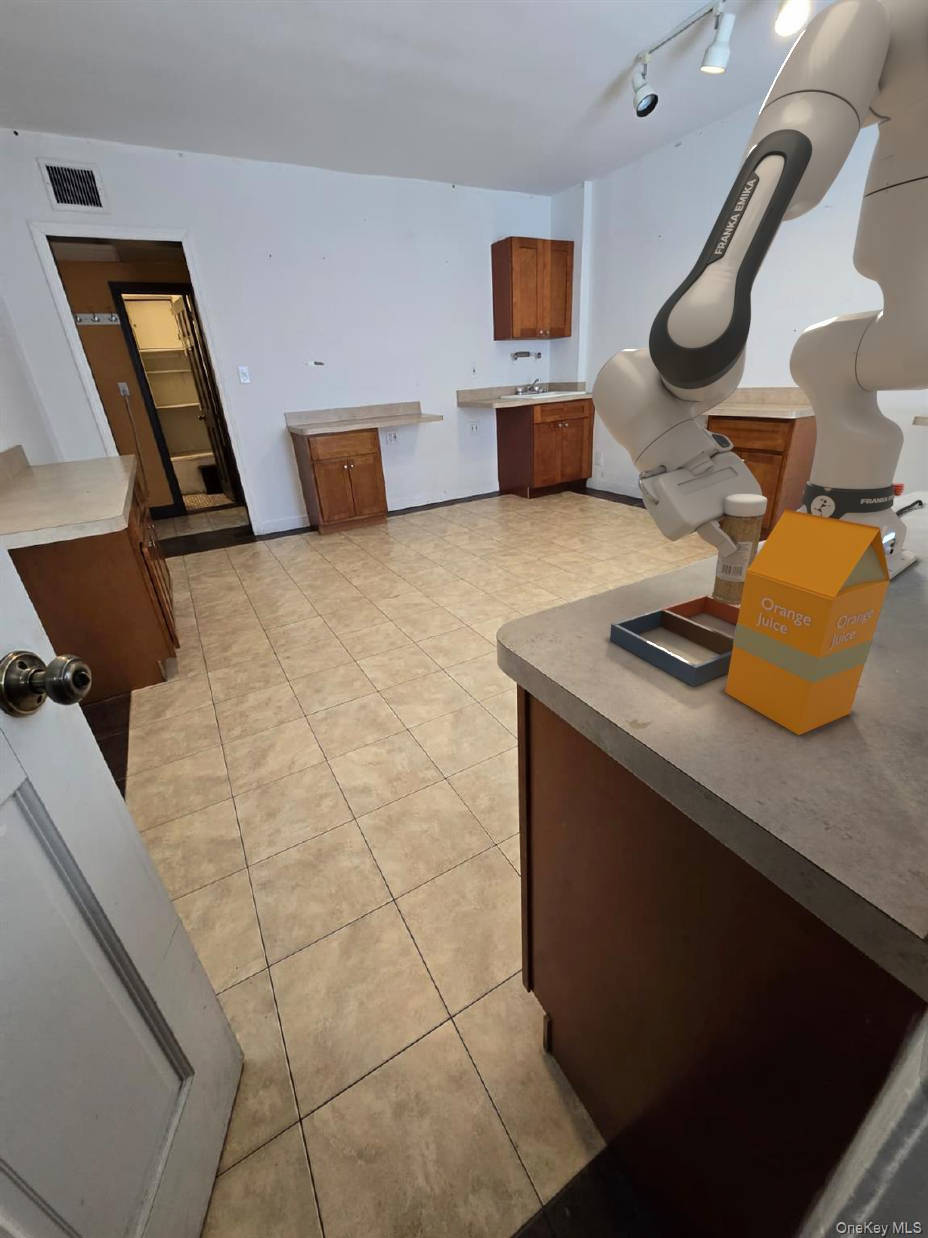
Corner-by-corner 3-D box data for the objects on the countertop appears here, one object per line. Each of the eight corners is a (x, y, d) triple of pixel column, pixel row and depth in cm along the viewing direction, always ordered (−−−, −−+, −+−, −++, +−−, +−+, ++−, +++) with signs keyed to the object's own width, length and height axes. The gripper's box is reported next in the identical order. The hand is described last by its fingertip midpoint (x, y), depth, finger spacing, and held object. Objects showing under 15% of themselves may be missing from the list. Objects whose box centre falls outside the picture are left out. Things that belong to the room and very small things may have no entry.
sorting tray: (703, 609, 77) (705, 594, 76) (794, 646, 65) (798, 628, 64) (609, 640, 70) (610, 623, 69) (693, 687, 58) (695, 668, 57)
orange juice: (798, 736, 50) (850, 535, 41) (723, 692, 57) (754, 514, 49) (851, 713, 52) (910, 520, 44) (773, 674, 60) (810, 502, 51)
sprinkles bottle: (756, 599, 67) (776, 495, 61) (736, 609, 64) (754, 502, 59) (723, 589, 70) (739, 491, 64) (703, 598, 68) (717, 497, 62)
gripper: (650, 456, 58) (725, 554, 55) (733, 434, 70) (798, 515, 67) (615, 491, 63) (681, 583, 60) (697, 466, 75) (756, 542, 72)
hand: (743, 547), depth 64 cm, fingers closed on sprinkles bottle, 4 cm apart
